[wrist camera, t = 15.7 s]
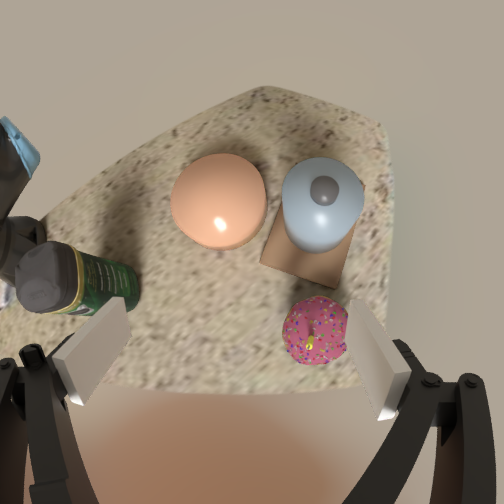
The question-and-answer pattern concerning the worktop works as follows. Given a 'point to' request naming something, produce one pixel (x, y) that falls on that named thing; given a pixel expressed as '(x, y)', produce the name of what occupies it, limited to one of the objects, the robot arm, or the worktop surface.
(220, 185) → the peach round dome
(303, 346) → the cupcake
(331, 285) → the mat
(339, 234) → the blue-grey knobbed jar
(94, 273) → the coffee jar
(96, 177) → the worktop surface
